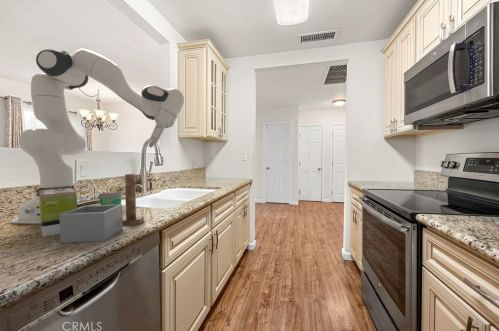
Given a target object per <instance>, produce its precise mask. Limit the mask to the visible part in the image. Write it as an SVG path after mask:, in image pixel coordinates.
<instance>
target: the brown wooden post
mask: <svg viewBox="0 0 499 331" xmlns="http://www.w3.org/2000/svg"><path fill="white" fill-rule="evenodd" d="M124 186H125V187H124V188H125V189H124V190H125V191H124V193H125V194H124V195H125V216H123V226H136V225H137V226H138V225H141V224H142V223H144V222H145V219H144V216H137V201H136V200H137V199H136V198H137V197H136V174H135V173H125V174H124Z"/></svg>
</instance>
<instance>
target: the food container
mask: <svg viewBox="0 0 499 331" xmlns="http://www.w3.org/2000/svg"><path fill="white" fill-rule="evenodd" d="M123 195H124V194H123V190H117V191H116V192H107V193H98V199H99V205H122V196H123Z"/></svg>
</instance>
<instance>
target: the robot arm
mask: <svg viewBox="0 0 499 331" xmlns="http://www.w3.org/2000/svg"><path fill="white" fill-rule="evenodd" d="M35 62H36V65H37V67H38V68H39V69H40V70H41V71H42V72H43V73H41V72H40V73H36V74H34V75H33V76H31V81H30V95H31V96H30V97H31V102H32V109H33V115H34V116H35V118H36V119H37V120H38V121H39V122H41V123H42V125H44V126H45V128H30V129H29V128H28V129H25V130H24V131H22V132H21V133H20V135H19V137H18V145H19V147H20V148H21V150H22V151H24V152H25V153H27V154H28V155H30V157H31V158H32V159H33V161H34V162H35V164H36V166H37V168H38V171H39V182H40V184H39V185H40V187H38V188H37V189H33V193H36V194H35V197H33V198H32V199H30V200H29V201H27V202H25V203H24V204H23V205H21V206H20V208H19V210H18V216H17V217H16V218H13V219H11V220H10V224H34V225H35V224H37V225H38V224H40V225H41V218H40V200H39V191H40V190H49V189H60V188H72V189H73V190H74V191H76V190H75V185H74V175H73V174H74V173H73V172H74V170H73V168H72V166H70V165H68V163H66V162H65V161H64V159H63V156H74V155H78V154H81V153H83V152H84V151H85V150H86V146H87V143H86V140H85V138H84V136H82V135H81V134H79V132H77V130H76V129H75V127H74V126H73V124H72V122H71V120H70V118H69V114H68V109H67V103H66V98H65V93H64V92H65V89H66V90H69V91H70V90H74V89H80V88H83V87H85V86H86V85H87V84H88V82H89V77H90V78H91V79H93V80H95V81H97V82H98V83H99V84H101V85H103V86H104V87H106V88H108V89H109V90H110V91H112V92H113V93H114V94H115V95H117V96H118V97H119V98H121V99H122V100H124V101H125V102H126V103H128V104H129V105H131V106H133V107H135V108H136V109H137V110H139V112H141V113H142V114H143V116H144V117H146V118H147V119H149V120H150V121H151V120H152V121H155V122H154V123H155V126H154V129H153V131H152V133H151V135H150V138H149V144H148V147H149V148H151V149H152V148H153V147H154V145H155V144H158V142H159V140H160V139H161V136H162V135H163V133H164V130H165V129H168V128H172V127H173V126H174V124H175V123H176V120H177V118H178V114H179V113H180V112H181V110H182V108H183V105H184V104H185V103H184V102H185V97H184V95H183V93H182V92H181V91H180V90H179V89H177V88H174V87H172V88H161V87H159V86H158V85H154V84H150V85H146V86H144V87H143V88H142V90H141V95H140V94H139V93H137V92H136V91H134V90H133V89H132V88H131V87H130V85H129V84H128V81H127V80H126V78H125V75H124V74H123V71H122V69H121V68H120V67H119V66H118V65H117V64H116V63H114V62H113V61H112V60H110V59H108V58H106V57H105V56H103V55H102V54H100V53H97V52H94V51H92V50H89V49H85V48H80V49H78V50H76V51H75V52H74V54H72V55H71V54H70V53H69V52H68V51H66V50H57V49H51V48H48V49H47V48H46V49H42V50H41V51H39V52H38V53H37V54H36V57H35Z"/></svg>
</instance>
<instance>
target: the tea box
mask: <svg viewBox="0 0 499 331" xmlns="http://www.w3.org/2000/svg"><path fill="white" fill-rule="evenodd" d="M77 194H78V193H77V191H76V190H75V191H74V190H73V189H72V188H60V189H49V190H40V191H39V200H40V218H41V224H40V226H41V227H40V228H41V236H42V237H43V238H45V237H50V236H55V235H56V236H57V235H60V216H59V214H62V213H65V212H68V211H71V210H74V209H77V208H78V197H77Z"/></svg>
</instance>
